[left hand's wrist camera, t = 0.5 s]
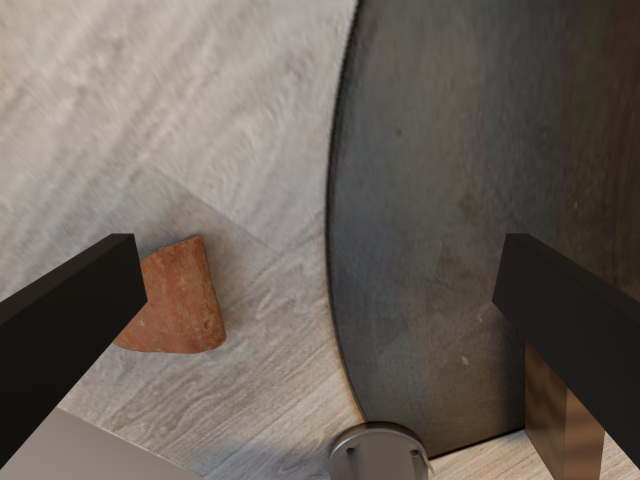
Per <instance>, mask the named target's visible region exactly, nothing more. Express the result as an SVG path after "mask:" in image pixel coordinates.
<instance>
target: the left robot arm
mask: <svg viewBox="0 0 640 480" xmlns="http://www.w3.org/2000/svg"><path fill="white" fill-rule="evenodd" d="M147 302H148V299H147V294H146V289H145V285H144V280H143V275H142V271H141V266H140V261H139V256H138V252H137V247H136V242H135V238H134V234H110V235H109V236H107V237H106V238H104V239H102V240H101V241H99V242H97V243H96V244H94V245H93V246H91V247H89V248H88V249H86V250H84V251H83V252H81V253H80V254H78V255H76V256H75V257H73V258H71V259H70V260H68V261H67V262H65V263H63V264H62V265H60V266H59V267H57V268H55V269H54V270H52V271H50V272H49V273H47V274H46V275H44V276H42V277H41V278H39V279H37V280H36V281H34V282H33V283H31V284H29V285H28V286H26V287H24V288H23V289H21V290H20V291H18V292H16V293H15V294H13V295H12V296H10V297H8V298H7V299H5V300H3V301H2V302H0V470H1V468H2V467H3V466H4V465H5V464H6V463H7V462H8V460H9V459H10V458H11V457H12V456H13V455H14V454H15V452H16V451H17V450H18V449H19V448H20V447H21V446H22V444H23V443H24V442H25V441H26V440H27V439H28V438H29V436H30V435H31V434H32V433H33V432H34V431H35V430H36V429H37V427H38V426H39V425H40V424H41V423H42V422H43V421H44V419H45V418H46V417H47V416H48V415H49V414H50V413H51V411H52V410H53V409H54V408H55V407H56V406H57V405H58V403H59V402H60V401H61V400H62V399H63V398H64V397H65V395H66V394H67V393H68V392H69V391H70V390H71V389H72V387H73V386H74V385H75V384H76V383H77V382H78V381H79V379H80V378H81V377H82V376H83V375H84V374H85V373H86V371H87V370H88V369H89V368H90V367H91V366H92V365H93V363H94V362H95V361H96V360H97V359H98V358H99V357H100V356H101V354H102V353H103V352H104V351H105V350H106V349H107V348H108V346H109V345H110V344H111V343H112V342H113V341H114V340H115V338H116V337H117V336H118V335H119V334H120V333H121V332H122V330H123V329H124V328H125V327H126V326H127V325H128V324H129V322H130V321H131V320H132V319H133V318H134V317H135V316H136V314H137V313H138V312H139V311H140V310H141V309H142V308H143V306H144V305H145V304H146V303H147ZM492 302H493V303H494V304H495V305H496V306H497V308H498V309H499V310H500V311H501V312H502V313H503V314H504V316H505V317H506V318H507V319H508V320H509V321H510V322H511V324H512V325H513V326H514V327H515V328H516V329H517V330H518V332H519V333H520V334H521V335H522V336H523V337H524V338H525V340H526V341H527V342H528V343H529V344H530V345H531V346H532V348H533V349H534V350H535V351H536V352H537V353H538V354H539V356H540V357H541V358H542V359H543V360H544V361H545V362H546V363H547V365H548V366H549V367H550V368H551V369H552V370H553V371H554V373H555V374H556V375H557V376H558V377H559V378H560V379H561V381H562V382H563V383H564V384H565V385H566V386H567V387H568V389H569V390H570V391H571V392H572V393H573V394H574V395H575V397H576V398H577V399H578V400H579V401H580V402H581V403H582V405H583V406H584V407H585V408H586V409H587V410H588V411H589V413H590V414H591V415H592V416H593V417H594V418H595V419H596V421H597V422H598V423H599V424H600V425H601V426H602V427H603V429H604V430H605V431H606V432H607V433H608V434H609V435H610V436H611V438H612V439H613V440H614V441H615V442H616V443H617V444H618V446H619V447H620V448H621V449H622V450H623V451H624V452H625V454H626V455H627V456H628V457H629V458H630V459H631V460H632V462H633V463H634V464H635V465H636V466H637V467H638V468H639V470H640V302H638V301H637V300H635V299H633V298H632V297H630V296H628V295H627V294H625V293H624V292H622V291H620V290H619V289H617V288H616V287H614V286H612V285H611V284H609V283H607V282H606V281H604V280H603V279H601V278H599V277H598V276H596V275H594V274H593V273H591V272H590V271H588V270H586V269H585V268H583V267H581V266H580V265H578V264H577V263H575V262H573V261H572V260H570V259H569V258H567V257H565V256H564V255H562V254H560V253H559V252H557V251H556V250H554V249H552V248H551V247H549V246H547V245H546V244H544V243H543V242H541V241H539V240H538V239H536V238H534V237H533V236H531V235H530V234H506V238H505V242H504V247H503V252H502V256H501V261H500V266H499V271H498V275H497V280H496V285H495V289H494V294H493V299H492ZM328 465H329V474H330V478H331V480H428V467H429V468H430V470H431V471H432V473H433V474H434V472H433V468H432V466H431V464H430V463H429V461H428V458H427V455H426V451H425V448H424V445H423V443H422V441H421V440H420V438H419V437H418V436H417V435H416V434H415V433H413V432H412V431H411V430H409V429H407V428H405V427H403V426H400V425H397V424H392V423H383V422H376V423H367V424H363V425H359V426H356V427H354V428H351V429H349V430H347V431H346V432H344V433H343V434H341V435H340V436H339V437H338V438H337V439H336V440H335V441H334V443H333V444H332V446H331V448H330V451H329V455H328ZM434 476H435V475H434Z"/></svg>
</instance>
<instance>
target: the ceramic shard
mask: <svg viewBox="0 0 640 480" xmlns="http://www.w3.org/2000/svg"><path fill="white" fill-rule="evenodd" d="M140 266H141V271H142V275H143V280H144V285H145V289H146V294H147V299H148V302H147V303H146V304H145V305H144V306H143V308H142V309H141V310H140V311H139V312H138V313H137V314H136V316H135V317H134V318H133V319H132V320H131V321H130V322H129V324H128V325H127V326H126V327H125V328H124V329H123V330H122V332H121V333H120V334H119V335H118V336H117V337H116V338H115V340H114V341H113V343H114V344H116V345H118V346H120V347H122V348H125V349H128V350H132V351H139V352H166V353H185V354H195V353H200V352H204V351H206V350H210V349H215V348H217V347H218V346H220V345H221V344H222V343H224V341H226V332H225V329H224V324H223V321H222V316H221V312H220V308H219V305H218V301H217V298H216V293H215V290H214V288H213V285H212V282H211V277H210V270H209V265H208V261H207V256H206V253H205V248H204V245H203V241H202V239H201V237H200V235H194V236H192V237H189V238H187V239H185V240H182V241H181V242H178V243H175V244H173V245H170V246H166V247H161V248H159V249H158V250H157V251H155V252H153V253H152V254H150V255H148V256H147V257H145V258H144V259H142V260H141V261H140Z"/></svg>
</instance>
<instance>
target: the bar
mask: <svg viewBox="0 0 640 480" xmlns="http://www.w3.org/2000/svg"><path fill="white" fill-rule="evenodd" d="M525 433H526V435H527V436H528V438H529V440H530V441H531V443H532V444H533V446H534V448H535V449H536V451H537V452H538V454H539V456H540V457H541V459H542V461H543V462H544V464H545V465H546V467H547V469H548V470H549V472H550V474H551V475H552V477H553V478H554V480H599V477H600V469H601V460H602V452H603V444H604V436H605V430H604V429H603V427H602V426H601V425H600V424H599V423H598V422H597V421H596V419H595V418H594V417H593V416H592V415H591V414H590V413H589V411H588V410H587V409H586V408H585V407H584V406H583V405H582V403H581V402H580V401H579V400H578V399H577V398H576V397H575V395H574V394H573V393H572V392H571V391H570V390H569V389H568V387H567V386H566V385H565V384H564V383H563V382H562V381H561V379H560V378H559V377H558V376H557V375H556V374H555V373H554V371H553V370H552V369H551V368H550V367H549V366H548V365H547V363H546V362H545V361H544V360H543V359H542V358H541V357H540V356H539V354H538V353H537V352H536V351H535V350H534V349H533V348H532V346H531V345H530V344H529V343H528V342H527V341H526V340H525Z"/></svg>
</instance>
